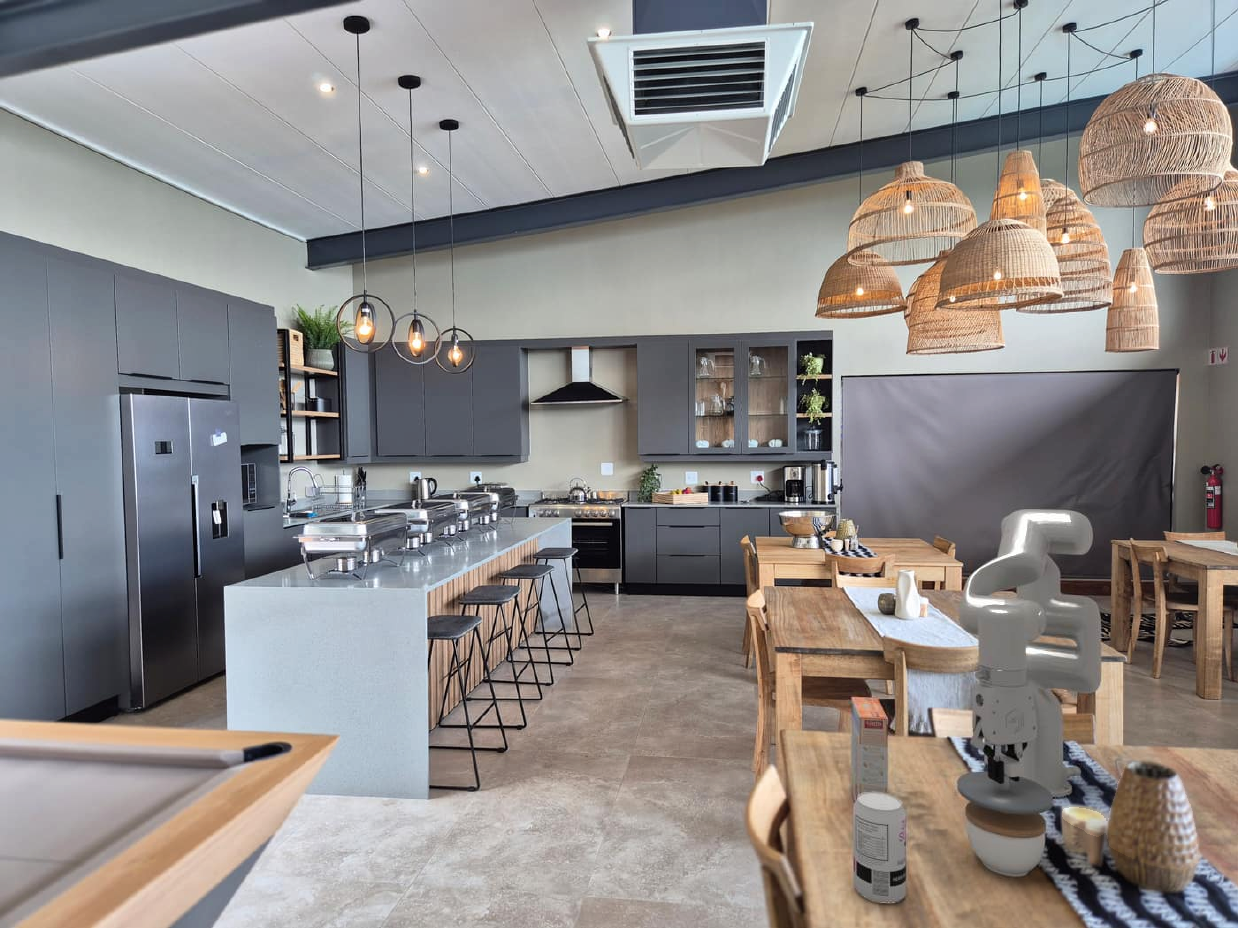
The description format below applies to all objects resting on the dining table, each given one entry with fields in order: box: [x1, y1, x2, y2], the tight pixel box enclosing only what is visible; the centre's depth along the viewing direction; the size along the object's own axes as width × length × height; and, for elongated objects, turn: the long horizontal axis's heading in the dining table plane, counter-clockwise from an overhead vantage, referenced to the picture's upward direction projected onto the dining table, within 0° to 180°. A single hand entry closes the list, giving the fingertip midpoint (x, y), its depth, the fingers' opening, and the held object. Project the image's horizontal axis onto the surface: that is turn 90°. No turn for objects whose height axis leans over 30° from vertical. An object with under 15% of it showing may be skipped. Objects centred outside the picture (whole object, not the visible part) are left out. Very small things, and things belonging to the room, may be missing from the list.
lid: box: [956, 752, 1054, 814], centre depth 132 cm, size 15×15×6 cm
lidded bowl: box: [965, 801, 1047, 878], centre depth 131 cm, size 13×13×11 cm
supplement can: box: [852, 792, 907, 903], centre depth 123 cm, size 8×8×15 cm
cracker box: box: [850, 696, 889, 803], centre depth 154 cm, size 14×6×21 cm, turn 168°
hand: (1003, 778), depth 132 cm, fingers closed on lid, 2 cm apart
